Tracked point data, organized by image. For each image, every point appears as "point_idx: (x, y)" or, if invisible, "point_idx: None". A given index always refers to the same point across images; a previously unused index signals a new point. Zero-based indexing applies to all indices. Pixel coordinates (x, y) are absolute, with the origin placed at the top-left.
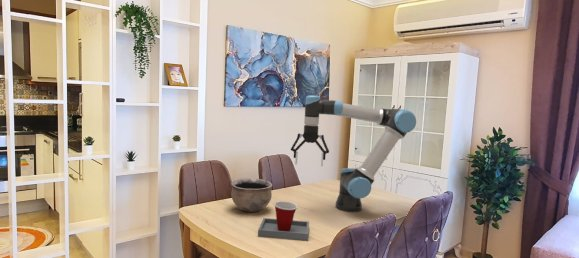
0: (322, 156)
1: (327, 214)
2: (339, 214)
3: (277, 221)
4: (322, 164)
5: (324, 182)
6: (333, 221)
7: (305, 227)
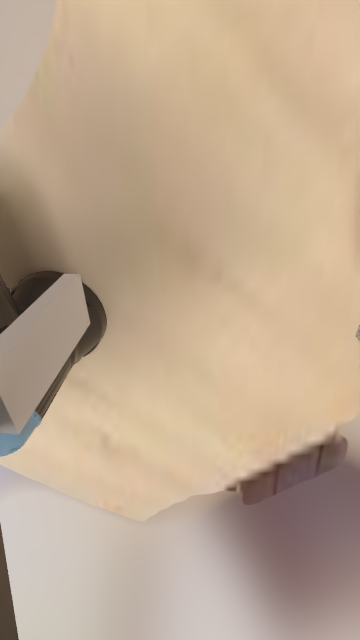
0: (3, 341)
1: (126, 217)
2: (80, 229)
3: None
4: (57, 283)
5: (157, 505)
6: (91, 120)
7: None
